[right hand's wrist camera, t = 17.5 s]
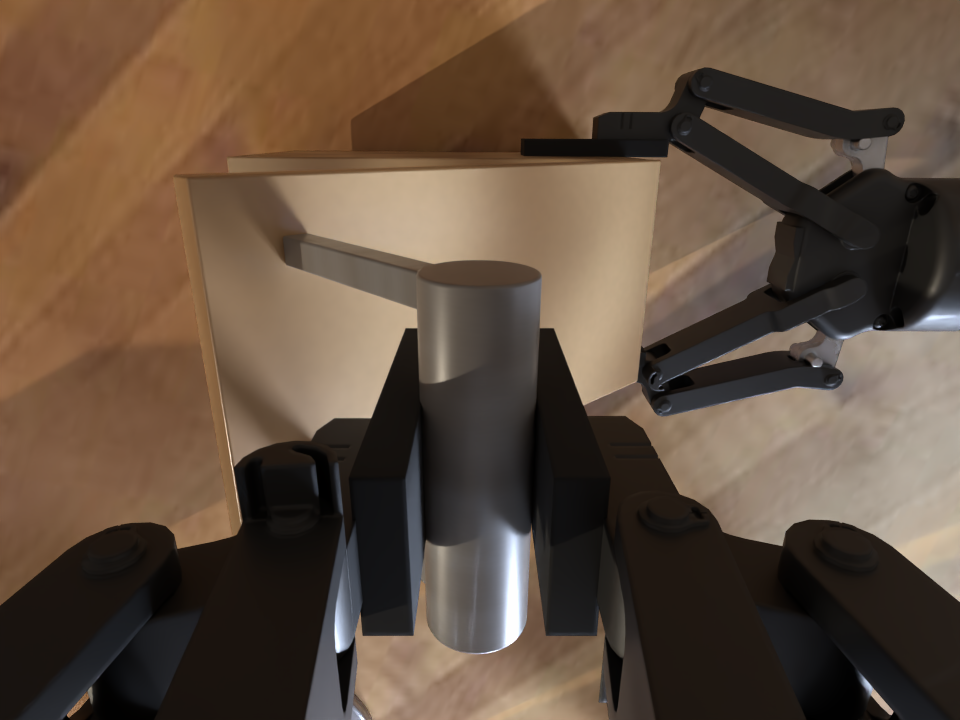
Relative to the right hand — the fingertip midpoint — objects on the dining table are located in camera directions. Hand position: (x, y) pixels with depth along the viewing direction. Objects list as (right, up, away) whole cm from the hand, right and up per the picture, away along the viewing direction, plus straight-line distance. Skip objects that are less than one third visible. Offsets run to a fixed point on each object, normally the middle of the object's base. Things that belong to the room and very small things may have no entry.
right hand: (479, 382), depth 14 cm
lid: (0, +2, +6) cm, 6 cm away
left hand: (+2, +6, +16) cm, 17 cm away
